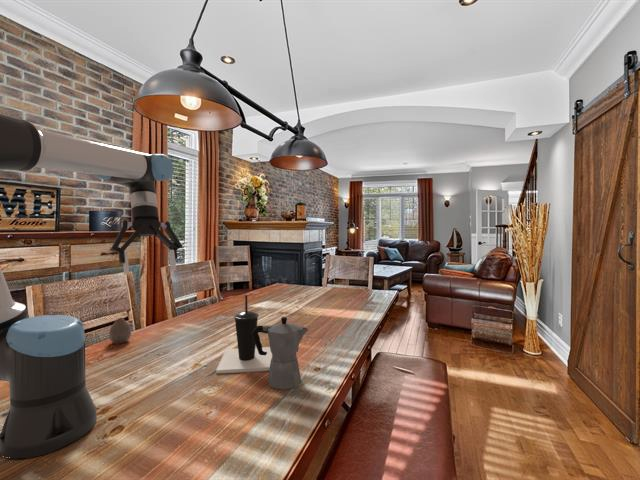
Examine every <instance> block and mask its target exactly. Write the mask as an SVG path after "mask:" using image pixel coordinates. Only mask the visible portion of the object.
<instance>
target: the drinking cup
mask: <svg viewBox="0 0 640 480" xmlns="http://www.w3.org/2000/svg"><path fill="white" fill-rule="evenodd" d="M244 302H245V303H244V308H245V309H244V310H243V311H241V312H238V313H236V314H234V315H233V319H234V322H235V332H236V342H237V343H236V344H237V348H238V352H239V359H240V360H244V361H247V360H251V359H253V358H254V357H255V348H256V344H255V341H254V339H253V336H252V332H253V330H254V329H255V328H256V327H257V326H258V321H259V320H258V319H259V313H257V312H254V311H252V310H248V295H246V294H245V295H244Z"/></svg>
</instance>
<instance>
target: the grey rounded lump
mask: <svg viewBox="0 0 640 480" xmlns="http://www.w3.org/2000/svg"><path fill="white" fill-rule="evenodd" d="M131 335H132V329H131V326H130V324H129V322H127V321H126V320H125V319H124V318H123V317H121V318H116V319H115V321H114V323H112V325H111V326H110V328H109V331H108V337H109V340H110V342H111V343H113V344H114V345H120V344H121V343H122V344H124V342H125V343H127V341H129V339H130V338H131Z"/></svg>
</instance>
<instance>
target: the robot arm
mask: <svg viewBox="0 0 640 480" xmlns="http://www.w3.org/2000/svg"><path fill="white" fill-rule="evenodd" d="M35 168H37V169H38V168H40V169H48V170H55V171H57V170H58V171H64V172H65V171H66V172H73V173H82V174H89V175H91V174H92V175H93V176H94V177H96V178H98V179H101V180H103V181H104V182H110V183H114V184H117V185H121V186H123V187H127V188H129V195H130V206H131V219H132V221H127V220H125V219H124V220H123V221H122V222H121V223H120V230H119V232H118V234H117V236H116V238H115V239H114V242H113V244H112V245H111V248H110V251H111V252H113V253H117V254H118V262H119V264H122V267H123V275H125V276H126V275H129V274H130V265H129V255H128V251H126V250H127V248H128V247H129V246H130V245H131V244H132V242H133V241H134V240H135V239H136V238H137V237H138V236H141V237H145V236H149V237H153V236H155V237H156V238H157V239H158V240H159V241H161V242H162V243H163V244H164V245H165V246H166V247H167V248H168V249H169V251H168V257H169V258H168V259H169V267H170V271H175V270H177V264H176V260H178V250H179V249H182V247H183V245H182V243H181V241H180V240H179V238H178V237H177V235H176V234H175V232H174V230H173V229H172V227H171V224H170V222H169V221H168V220H167V221H166V222H160V217H159V208H158V200H157V199H158V198H157V191H156V183H155V182H162V181H168V180H170V179H171V178H172V177H173V174H174V164H173V162H172V159H171V158H170V157H169V156H168V155H166V154H164V153H153V154H149V153H145V152H141V151H135V150H131V149H128V148H122V147H119V146H114V145H109V144H105V143H101V142H96V141H93V140H89V139H88V140H87V139H83V138H79V137H74V136H70V135H67V134H64V133H63V134H62V133H57V132H54V131H50V130H45V129H40V128H37V126H36V125H35V124H34V123H33V122H31V121H29V120H26V119H22V118H18V117H14V116H9V115H5V114H3V113H0V170H1V171H2V170H4V171H5V170H6V171H19V172H20V171H21V172H29V171H32V170H34V169H35ZM130 227H132V229H133V230H134V232H133V233H132V234H131V235H130V237H129V238H128V239H127V240H126V241H125V242H124V243H123V244H122V246H121V247H119V246H120V243H121V242H122V240H123V238H124V236H125V234H126V232H127V230H128V229H129V228H130ZM160 228H162V229H163V230H164V232H165V234H166V235H167V236H166V235H165V234H164V233H163V232H162V230H161V229H160ZM86 339H87V337H86V333H85V327H84V324H83V322H82V321H81V319H79V318H78V317H75V316H72V315H66V314H56V315H53V314H52V315H51V314H45V315H38V316H30V314H29V312H28V309H27V307H26V304H24V303H20V302H18V301H15V300H14V299H13V297H12V295H11V291H10V289H9V286H8V283H7V281H6V277H5V275H4V272H3V270H2V267H1V266H0V381H2V382H3V381H4V382H8V383H9V404H10V405H9V410H8V413H7V415H6V418H5V420H4V423H3V426H2V428H1V432H0V454H1V455H2V456H4V457H8V458H9V457H10V458H25V459H30V458H36V457H39V456H43V455H45V454H49V453H51V452H52V453H53V452H55V451H57V450H59V449H62V448H64V447H66V446H68V445H70V444H73V443H74V442H76V441H78V440H79V439H81V438H82V437H83V436H85V435H86V434H88V432H89V431H91V429H93V427H94V426H95V424H96V423H97V407H96V405H95V403H94V401H93V399H92V396H91V394H90V393H89V390H88V389H87V385H86V384H87V383H86V382H87V381H86V378H87V377H86ZM1 455H0V456H1ZM2 456H1V457H2ZM4 457H3V458H4Z"/></svg>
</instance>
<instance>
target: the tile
mask: <svg viewBox="0 0 640 480" xmlns="http://www.w3.org/2000/svg"><path fill="white" fill-rule="evenodd" d="M262 350H263V351H264V352H267V354H266V355H259V353H258V350H257V347H255V357H254V358H253V359H251V360H247V361H244V360H240V359H239V352H238V347H237V348H226V349H225V351H224V353H223V355H222V357H221V359H220V361H219V363H218V366H217V367H216V370H215V374H232V373H250V372H251V373H253V372H254V373H255V372H267V371H268V372H269V369H270V363H271V359H272V353H271V350H270V346H262Z"/></svg>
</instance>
